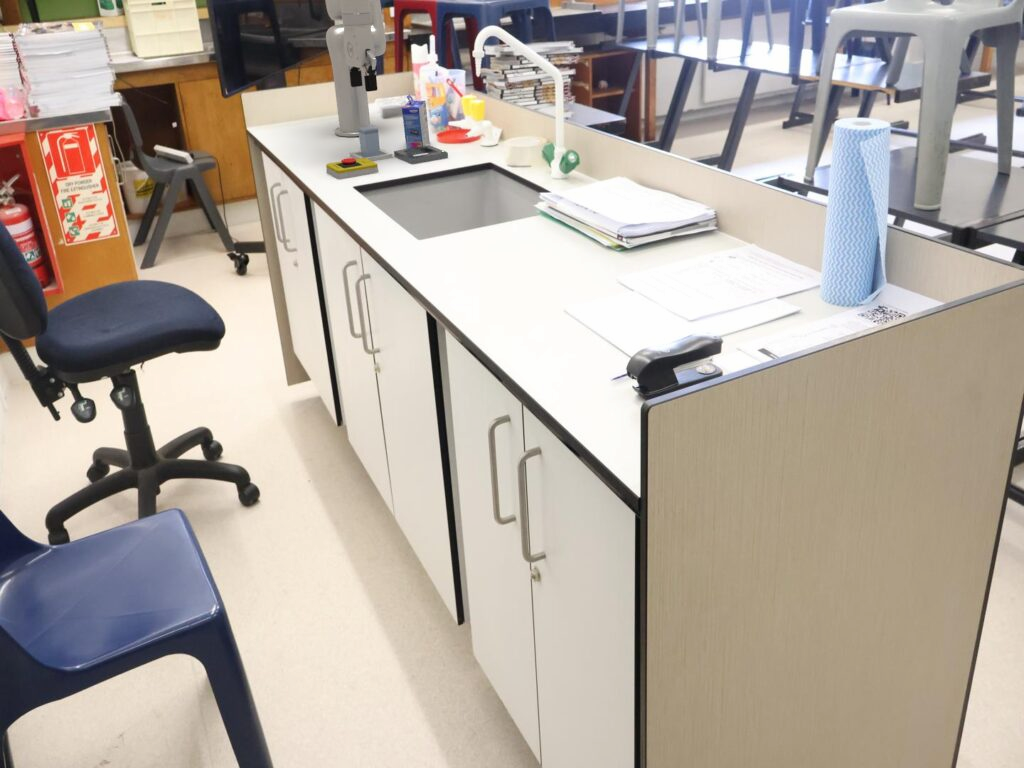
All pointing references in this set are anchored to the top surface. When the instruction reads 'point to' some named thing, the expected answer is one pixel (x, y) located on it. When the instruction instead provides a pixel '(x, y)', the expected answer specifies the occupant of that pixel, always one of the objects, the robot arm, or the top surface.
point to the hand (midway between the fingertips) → (364, 88)
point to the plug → (369, 141)
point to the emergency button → (351, 168)
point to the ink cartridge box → (415, 123)
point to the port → (408, 155)
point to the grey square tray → (374, 158)
